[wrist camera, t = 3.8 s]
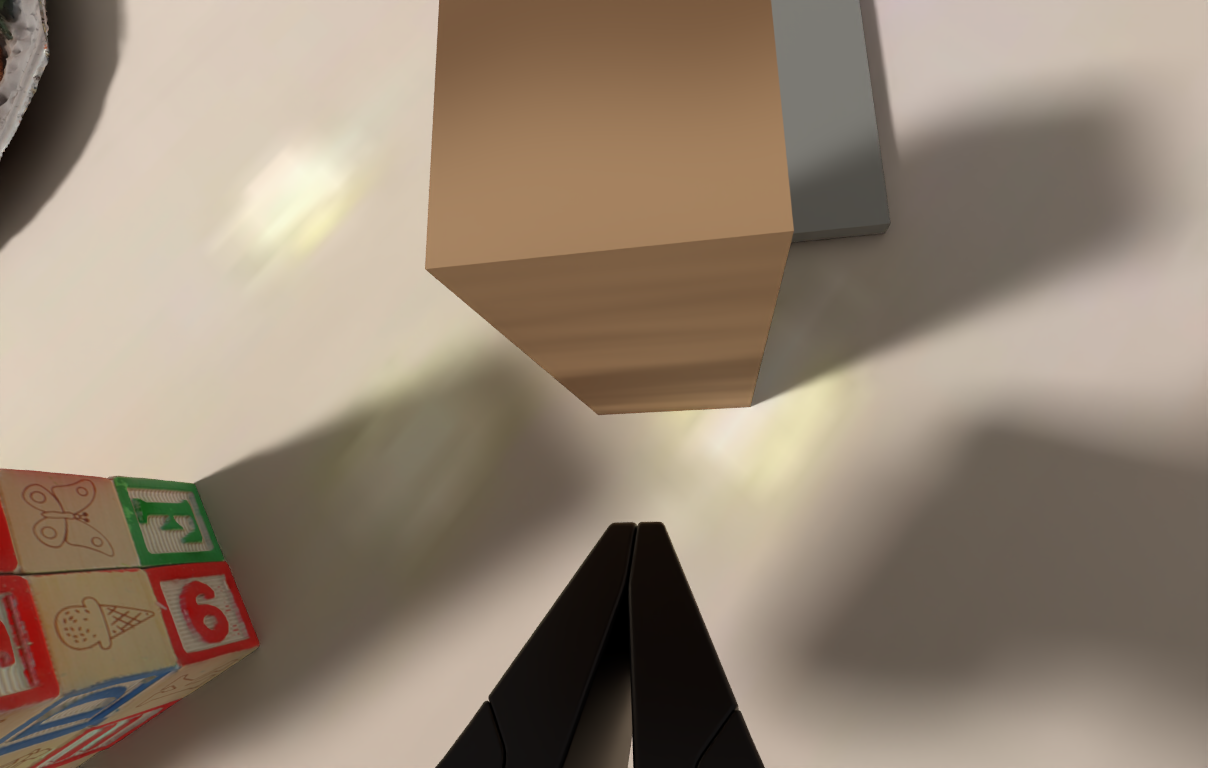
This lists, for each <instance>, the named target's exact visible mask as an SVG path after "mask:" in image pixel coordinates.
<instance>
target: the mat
mask: <svg viewBox="0 0 1208 768" xmlns="http://www.w3.org/2000/svg"><path fill="white" fill-rule="evenodd" d="M771 5H772V15H773V25H774V35H775V45H776V55H777V66H778V76H779V86H780V96H781V106H782V116H783V126H784V136H785V146H786V156H787V166H788V177H789V187H790V197H791V207H792V217H793V227H794V232H793V236H792V241H791V242H801V241H811V240H821V239H831V238H841V237H851V236H861V235H871V234H881V233H885V232H886V230H887V229H888V227H889V225H890V217H889V209H888V202H887V195H886V188H885V181H884V174H883V166H882V159H881V152H880V145H879V138H878V131H877V123H876V116H875V109H874V102H873V95H872V88H871V81H870V73H869V66H868V59H867V52H866V45H865V38H864V30H863V23H862V16H861V9H860V2H859V0H771Z"/></svg>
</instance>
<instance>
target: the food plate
mask: <svg viewBox="0 0 1208 768" xmlns="http://www.w3.org/2000/svg"><path fill="white" fill-rule="evenodd" d="M48 1H49V0H48ZM45 5H46V1H45V0H0V160H1V157H2V153H3V152H5V148H7V147H8V146H7V145H8V144H10V143H9V142H10V141H11V139H12V137H13V136H14V133H15V132H16V131H17V128H18V126H19V124H20V121H21V119H22V117H23V115H24V112H25V111H26V110H27V107H28V106H29V104H30V102H31V99H32V97H33V96H34V94H35V93H36V89H37V86H38V82H39V80H40V77H41V75H42V73H43V70H44V68H45V66H46V65H47V63H48V61H49V57H47V56H46V55H50V54H49V53H50V50H49V49H48V48H49V47H48V42H49V41H48V39H47V35H48V33H47V31H48V30H49V26H48V25H47V21H48V19H47V16H46V12H47V10H46V7H45ZM45 40H46V41H45Z"/></svg>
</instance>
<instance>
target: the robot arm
mask: <svg viewBox="0 0 1208 768" xmlns="http://www.w3.org/2000/svg"><path fill="white" fill-rule="evenodd" d="M632 738H633V767H634V768H765V767H764V765H763V762H762V760H761V758H760V756H759V753H758V751H757V749H756V747H755V744H754V742H753V740H752V738H751V735H750V733H749V730H748V728H747V726H746V723H745V721H744V718H743V716H742V713H741V711H739V710H738V704H737V702H736V699H735V697H734V694H733V692H732V689H731V687H730V684H729V682H728V680H727V677H726V675H725V672H724V670H723V667H722V665H721V662H720V660H719V657H718V655H717V653H716V650H715V648H714V645H713V643H712V640H711V638H710V635H709V633H708V630H707V628H706V626H705V623H704V621H703V618H702V616H701V613H700V611H699V608H698V606H697V603H696V601H695V599H694V596H693V594H692V591H691V589H690V586H689V584H688V581H687V579H686V576H685V574H684V572H683V569H682V567H681V564H680V562H679V559H678V557H677V554H676V552H675V549H674V547H673V545H672V542H671V540H670V537H669V535H668V532H667V530H666V527H665V525H664V524H663V523H662V522H640V523H639V524H638V526H637V525H636V524H635V523H633V522H623V523H612V524H611V525H609V527H608V528H607V530H606V531H605V532H604V534H603V535H602V537H601V538H600V539H599V541H598V542H597V544H596V545H595V546H594V548H593V549H592V551H591V552H590V554H589V555H588V556H587V558H586V559H585V561H584V562H583V563H582V565H581V566H580V568H579V569H578V571H577V572H576V573H575V575H574V576H573V578H572V579H571V580H570V582H569V583H568V585H567V586H566V588H565V589H564V590H563V592H562V593H561V595H560V596H559V597H558V599H557V600H556V602H555V603H554V604H553V606H552V607H551V609H550V610H549V612H548V613H547V614H546V616H545V617H544V619H543V620H542V621H541V623H540V624H539V626H538V627H537V628H536V630H535V631H534V633H533V634H532V636H531V637H530V638H529V640H528V641H527V643H526V644H525V645H524V647H523V648H522V650H521V651H520V653H519V654H518V655H517V657H516V658H515V660H514V661H513V662H512V664H511V665H510V667H509V668H508V669H507V671H506V672H505V674H504V675H503V677H502V678H501V679H500V681H499V682H498V684H497V685H496V686H495V688H494V689H493V691H492V692H491V694H490V695H489V701H485V702H484V703H483V704H482V706H481V707H480V709H479V710H478V711H477V713H476V714H475V716H474V717H473V719H472V720H471V721H470V723H469V724H468V726H467V727H466V728H465V730H464V731H463V732H462V734H461V735H460V736H459V738H458V739H457V740H456V742H455V743H454V744H453V746H452V747H451V748H450V750H449V751H448V752H447V754H446V755H445V756H444V758H443V759H442V760H441V761H440V763H439V764H438V765H437V766H436V767H435V768H628V761H629V754H630V747H631V739H632Z"/></svg>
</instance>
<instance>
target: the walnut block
mask: <svg viewBox="0 0 1208 768" xmlns="http://www.w3.org/2000/svg"><path fill="white" fill-rule="evenodd" d="M793 232H794V227H793V217H792V207H791V197H790V187H789V177H788V166H787V156H786V146H785V136H784V126H783V116H782V106H781V96H780V86H779V76H778V66H777V55H776V45H775V35H774V25H773V15H772V5H771V0H439V16H438V35H437V54H436V73H435V92H434V111H433V130H432V149H431V168H430V186H429V205H428V224H427V243H426V262H425V269H426V270H427V271H428V272H429V273H430V274H432V275H433V276H434V277H435V278H436V279H438V280H439V281H440V282H441V283H442V284H443V285H445V286H446V287H447V288H448V289H449V290H451V291H452V292H453V293H454V294H455V295H456V296H458V297H459V298H460V299H461V300H462V301H464V302H465V303H466V304H467V305H468V306H470V307H471V308H472V309H473V310H474V311H475V312H477V313H478V314H479V315H480V316H481V317H483V318H484V319H485V320H486V321H487V322H489V323H490V324H491V325H492V326H493V327H494V328H496V329H497V330H498V331H499V332H500V333H502V334H503V335H504V336H505V337H506V338H508V339H509V340H510V341H511V342H512V343H513V344H515V345H516V346H517V347H518V348H519V349H521V350H522V351H523V352H524V353H525V354H527V355H528V356H529V357H530V358H531V359H532V360H534V361H535V362H536V363H537V364H538V365H540V366H541V367H542V368H543V369H544V370H546V371H547V372H548V373H549V374H550V375H551V376H553V377H554V378H555V379H556V380H557V381H559V382H560V383H561V384H562V385H563V386H565V387H566V388H567V389H568V390H569V391H570V392H572V393H573V394H574V395H575V396H576V397H578V398H579V399H580V400H581V401H582V402H584V403H585V404H586V405H587V406H588V407H589V408H591V409H592V410H593V411H594V412H595V413H597V414H598V415H607V414H626V413H645V412H664V411H683V410H702V409H721V408H740V407H750V406H751V402H752V398H753V394H754V390H755V386H756V382H757V378H758V374H759V370H760V366H761V362H762V358H763V353H764V349H765V345H766V341H767V337H768V333H769V329H770V325H771V321H772V317H773V313H774V309H775V305H776V301H777V297H778V293H779V289H780V285H781V281H782V277H783V273H784V269H785V265H786V261H787V257H788V253H789V249H790V245H791V241H792V236H793Z"/></svg>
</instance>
